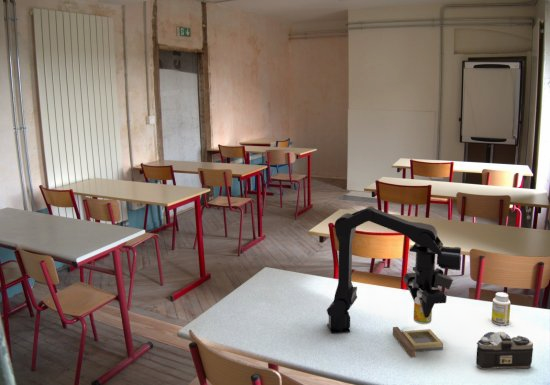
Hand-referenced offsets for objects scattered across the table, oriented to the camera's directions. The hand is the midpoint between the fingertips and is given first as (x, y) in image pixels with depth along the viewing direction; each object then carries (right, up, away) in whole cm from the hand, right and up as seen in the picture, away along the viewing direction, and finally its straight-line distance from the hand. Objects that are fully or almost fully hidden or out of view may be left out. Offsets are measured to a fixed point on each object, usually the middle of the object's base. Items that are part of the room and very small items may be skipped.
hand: (422, 313), depth 154 cm
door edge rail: (-6, -10, +1) cm, 12 cm away
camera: (+20, -12, -9) cm, 25 cm away
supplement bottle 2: (+31, -7, +15) cm, 36 cm away
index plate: (0, -10, +2) cm, 10 cm away
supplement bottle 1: (0, -3, +1) cm, 3 cm away
